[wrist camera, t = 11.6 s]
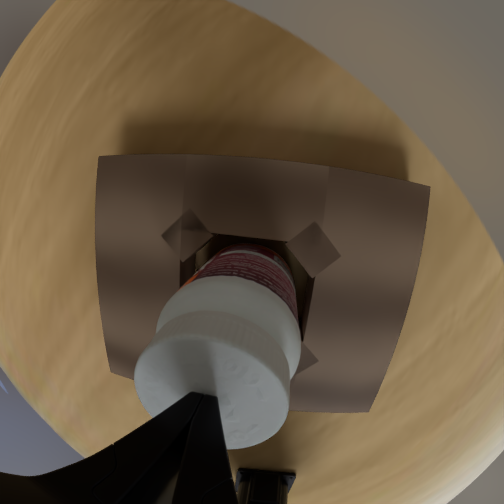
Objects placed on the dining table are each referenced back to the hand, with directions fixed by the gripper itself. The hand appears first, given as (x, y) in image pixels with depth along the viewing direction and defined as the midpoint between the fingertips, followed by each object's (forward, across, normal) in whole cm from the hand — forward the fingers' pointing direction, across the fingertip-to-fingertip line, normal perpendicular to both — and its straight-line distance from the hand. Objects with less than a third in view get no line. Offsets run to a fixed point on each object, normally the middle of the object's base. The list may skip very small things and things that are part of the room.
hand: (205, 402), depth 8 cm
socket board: (+11, 0, 0) cm, 11 cm away
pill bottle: (+12, 0, 0) cm, 12 cm away
